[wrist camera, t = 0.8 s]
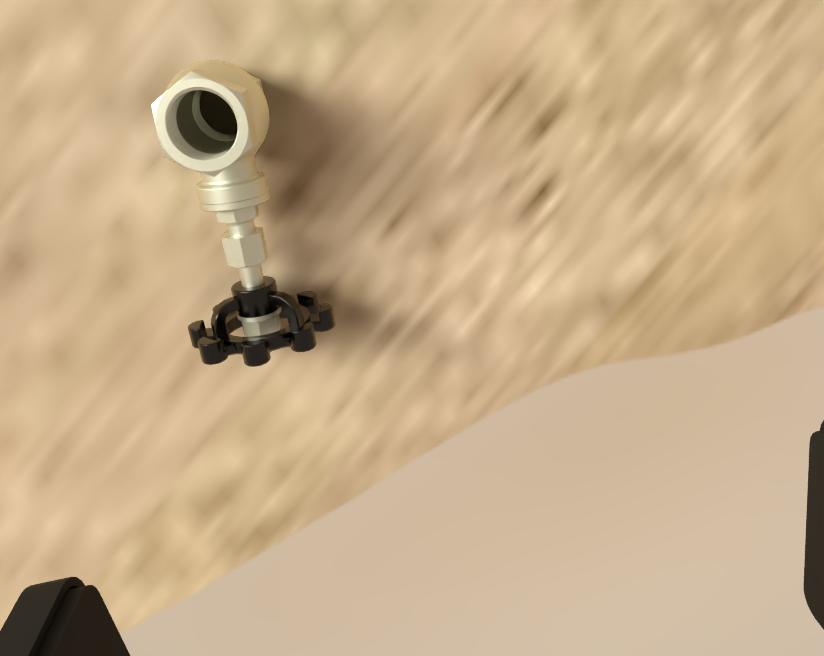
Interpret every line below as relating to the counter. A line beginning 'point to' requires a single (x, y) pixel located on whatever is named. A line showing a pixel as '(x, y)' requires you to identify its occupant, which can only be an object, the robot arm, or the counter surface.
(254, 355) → the valve
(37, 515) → the counter surface
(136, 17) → the counter surface
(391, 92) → the counter surface
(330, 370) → the counter surface
